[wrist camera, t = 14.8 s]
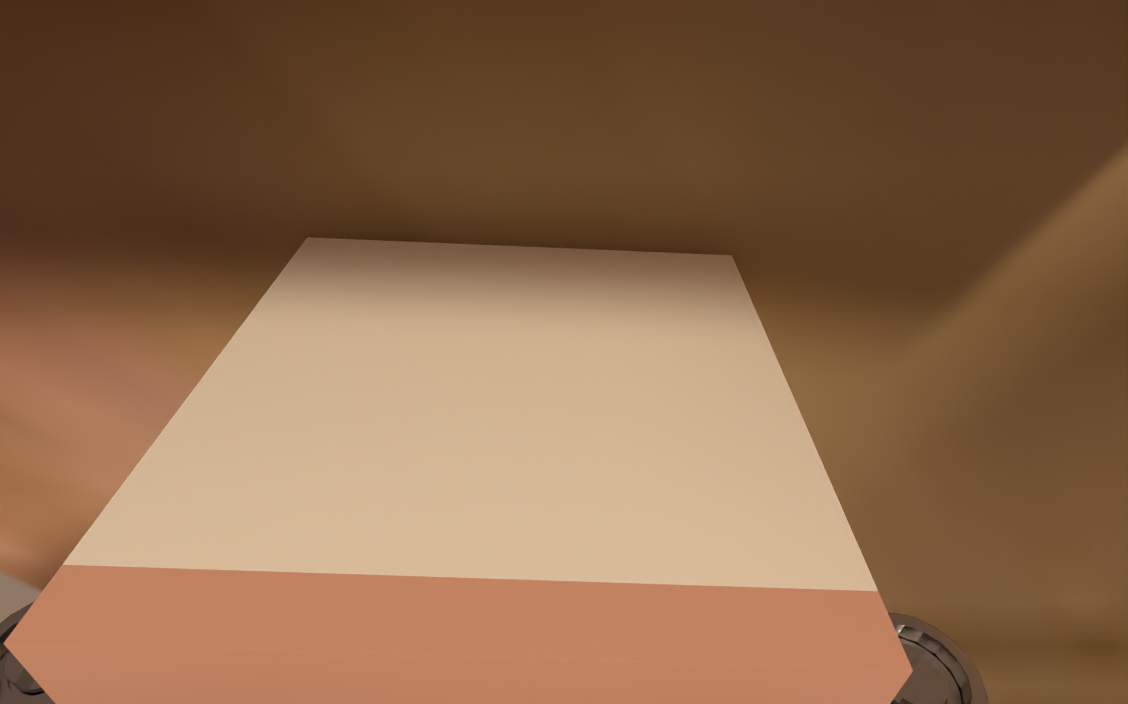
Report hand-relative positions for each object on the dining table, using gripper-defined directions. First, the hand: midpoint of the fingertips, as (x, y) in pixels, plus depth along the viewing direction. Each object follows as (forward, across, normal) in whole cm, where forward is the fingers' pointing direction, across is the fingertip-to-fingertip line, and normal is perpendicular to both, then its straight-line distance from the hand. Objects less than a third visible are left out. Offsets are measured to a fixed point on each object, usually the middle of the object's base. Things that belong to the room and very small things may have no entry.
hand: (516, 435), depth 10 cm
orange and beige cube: (+1, 0, 0) cm, 1 cm away
